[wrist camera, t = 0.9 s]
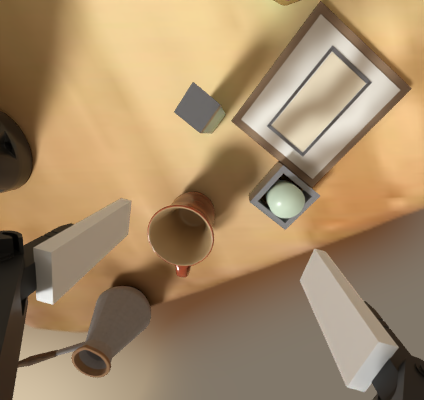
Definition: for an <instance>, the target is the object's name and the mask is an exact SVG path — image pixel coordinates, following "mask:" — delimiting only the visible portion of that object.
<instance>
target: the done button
mask: <svg viewBox="0 0 424 400" xmlns="http://www.w3.org/2000/svg"><path fill="white" fill-rule="evenodd" d="M266 201H267V203H268V205H269V207H270V210H271V211H272V213H273V214H275V215H276V216H278V217H280V218H291V217H294V216H296V215H297V214H299V213H300V212H301V210H302V209H303V207H304V204H305V197H304V194H303V193H302V191H301V190H300V189H299V188H297V187H296V186H295V185H294V184H293V183H291V182H290V181H287V180H278V181H276V182H275V183H274V184H273V185H272V186H271V187H270V189H269V190H268V191H267V192H266Z"/></svg>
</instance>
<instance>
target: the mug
mask: <svg viewBox="0 0 424 400" xmlns="http://www.w3.org/2000/svg"><path fill="white" fill-rule="evenodd" d="M214 220H215V210H214V207H213V204H212V202H211V200H210V199H209V198H208V197H207V196H205V195H204V194H202V193H199V192H187V193H184V194H182V195H180V196H179V197H177V198H176V199H175V200H174V202H173V203H172V204H171V205H170V206H167V207H164V208H162V209H161V210H159V211H158V212H156V213H155V214H154V216H153V217H152V218H151V220H150V222H149V225H148V240H149V243H150V245H151V247H152V249H153V250H154V252H155V253H156V254H157V255H158V256H159V257H160V258H161V259H163V260H164V261H166V262H167V263H170V264H173V265H175V267H176V274H177V276H179V277H187V276H188V274H189V271H190V267H191V266H192V265H195V264H197V263H199V262H201V261H203V260H204V259H205V258H206V257H207V256H208V255H209V253H210V252H211V250H212V247H213V243H214V234H213V230H212V226H213V223H214Z"/></svg>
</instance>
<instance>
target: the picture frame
mask: <svg viewBox="0 0 424 400" xmlns="http://www.w3.org/2000/svg"><path fill="white" fill-rule="evenodd" d="M411 89H412V88H411V87H409V86H408V85H407V84H406V83H405V82H404V81H403V80H402V79H401V78H400V77H399V76H398V75H397V74H396V73H395V72H394V71H393V70H392V69H391V68H390V67H389V66H388V65H387V64H386V63H385V62H384V61H382V60H381V59H380V58H379V57H378V56H377V55H376V54H375V53H374V52H373V51H372V50H371V49H370V48H369V47H368V46H367V45H366V44H365V43H364V42H363V41H362V40H361V39H360V38H359V37H358V36H356V35H355V34H354V33H353V32H352V31H351V30H350V29H349V28H348V27H347V26H346V25H345V24H344V23H343V22H342V21H341V20H340V19H339V18H338V17H337V16H336V15H335V14H334V13H333V12H332V11H331V10H329V9H328V8H327V7H326V6H325V5H324V4H323V3H322V2H321V1H320V2H319V4H318V5H317V6H316V8H315V9H314V10H313V12H312V13H311V14H310V16H309V17H308V18H307V20H306V21H305V22H304V24H303V25H302V27H301V28H300V29H299V31H298V32H297V33H296V35H295V36H294V37H293V39H292V40H291V41H290V43H289V44H288V45H287V47H286V48H285V49H284V51H283V52H282V53H281V55H280V56H279V57H278V59H277V60H276V62H275V63H274V64H273V66H272V67H271V68H270V70H269V71H268V72H267V74H266V75H265V76H264V78H263V79H262V80H261V82H260V83H259V84H258V86H257V87H256V88H255V90H254V91H253V92H252V94H251V95H250V97H249V98H248V99H247V101H246V102H245V103H244V105H243V106H242V107H241V109H240V110H239V111H238V113H237V114H236V115H235V117H234V118H233V119H232V122H233V123H234V124H235V125H237V126H238V127H239V128H240V129H241V130H243V131H244V132H245V133H246V134H247V135H249V136H250V137H251V138H252V139H253V140H255V141H256V142H257V143H258V144H259V145H261V146H262V147H263V148H264V149H266V150H267V151H268V152H269V153H270V154H272V155H273V156H274V157H275V158H276V159H278V160H279V161H280V162H281V163H282V164H284V165H285V166H286V167H287V168H288V169H290V170H291V171H292V172H293V173H294V174H296V175H297V176H298V177H299V178H300V179H302V180H303V181H304V182H305V183H306V184H308V185H309V186H310V187H313V186H314V185H315V184H316V183H317V182H318V181H319V180H320V179H321V178H322V177H323V176H324V175H325V174H326V173H327V172H328V171H329V170H330V169H331V168H332V167H333V166H334V165H335V164H336V163H337V162H338V161H339V160H340V159H341V158H342V157H343V156H344V155H345V154H346V153H347V152H348V151H349V150H350V149H351V148H352V147H353V146H354V145H355V144H356V143H357V142H358V141H359V140H360V139H361V138H362V137H363V136H364V135H365V134H366V133H367V132H368V131H369V130H370V129H371V128H372V127H373V126H375V125H376V124H377V123H378V122H379V121H380V120H381V119H382V118H383V117H384V116H385V115H386V114H387V113H388V112H389V111H390V110H391V109H392V108H393V107H394V106H395V105H396V104H397V103H398V102H399V101H400V100H401V99H402V98H403V97H404V96H405V95H406V94H407V93H408V92H409V91H410V90H411Z"/></svg>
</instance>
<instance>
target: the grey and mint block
mask: <svg viewBox="0 0 424 400" xmlns="http://www.w3.org/2000/svg"><path fill="white" fill-rule="evenodd" d="M174 112H175V113H176V114H177V115H178V116H180V117H181V118H182V119H183V120H185V121H186V122H187V123H188V124H189V125H191V126H192V127H193V128H194V129H196V130H197V131H198V132H199V133H213V131H214V130H215V129H216V127H217V126H218V124H219V123H220V122H221V120H222V119H223V118H224V116H225V115H226V114H225V112H224V111H223V109H222V107H221V105H220V104H219V103H218V102H217V101H215V100H214V99H213V98H212V97H211V96H209V95H208V94H207V93H206V92H205V91H203V90H202V89H201V88H200V87H199V86H197V85H196V84H195V83H194V82H193V83H192V84H191V86H190V87H189V89H188V91H187V92H186V94H185V95H184V97H183V98H182V100H181V102H180V103H179V105H178V106H177V108H176V110H175V111H174Z"/></svg>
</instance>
